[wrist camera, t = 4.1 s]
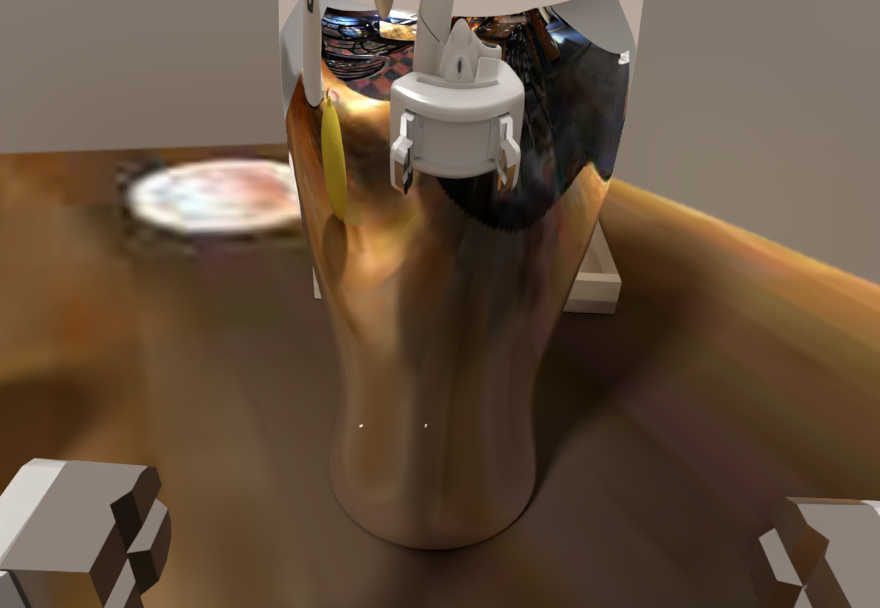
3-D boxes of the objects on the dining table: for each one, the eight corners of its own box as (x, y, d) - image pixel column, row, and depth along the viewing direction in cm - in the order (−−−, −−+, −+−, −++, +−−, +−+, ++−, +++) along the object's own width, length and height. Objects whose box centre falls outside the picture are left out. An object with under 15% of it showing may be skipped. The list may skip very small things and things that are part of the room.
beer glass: (329, 383, 23) (300, -152, 15) (535, 391, 23) (621, -134, 15) (293, 564, 17) (210, -155, 9) (568, 571, 17) (741, -125, 9)
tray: (314, 298, 27) (312, 266, 26) (351, 186, 36) (350, 159, 35) (614, 314, 27) (621, 282, 26) (575, 198, 36) (580, 171, 36)
